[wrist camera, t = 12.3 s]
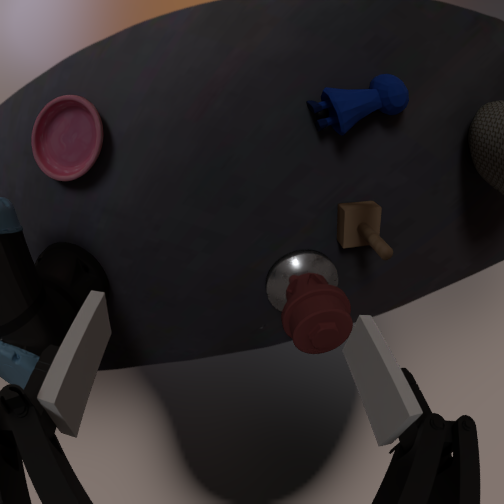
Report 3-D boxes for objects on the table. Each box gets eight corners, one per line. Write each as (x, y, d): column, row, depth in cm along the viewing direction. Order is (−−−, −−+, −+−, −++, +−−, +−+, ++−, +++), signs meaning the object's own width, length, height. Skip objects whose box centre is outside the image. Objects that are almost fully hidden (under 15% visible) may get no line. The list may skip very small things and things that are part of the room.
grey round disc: (259, 307, 50) (260, 312, 49) (273, 245, 45) (275, 250, 43) (323, 311, 52) (326, 316, 50) (344, 253, 46) (347, 258, 45)
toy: (318, 138, 38) (405, 110, 36) (331, 144, 33) (427, 114, 30) (301, 93, 35) (392, 69, 33) (312, 92, 30) (413, 66, 27)
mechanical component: (339, 259, 45) (327, 308, 50) (278, 258, 44) (271, 310, 49) (370, 307, 34) (349, 360, 39) (294, 310, 33) (282, 365, 38)
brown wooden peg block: (336, 239, 45) (363, 277, 35) (337, 203, 42) (368, 234, 32) (370, 235, 45) (402, 270, 35) (372, 200, 42) (409, 229, 33)
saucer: (40, 102, 30) (29, 104, 28) (109, 88, 32) (100, 88, 29) (45, 179, 36) (34, 184, 33) (111, 173, 37) (103, 179, 35)
